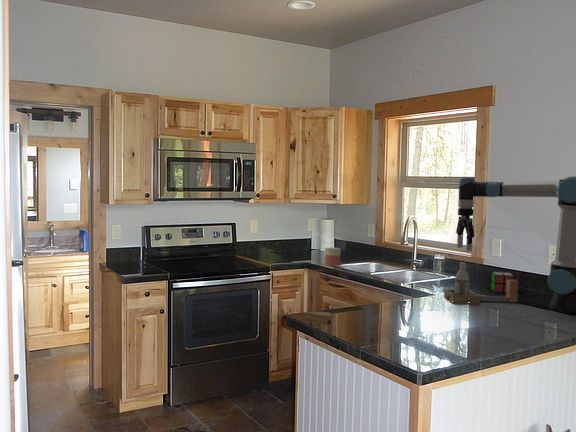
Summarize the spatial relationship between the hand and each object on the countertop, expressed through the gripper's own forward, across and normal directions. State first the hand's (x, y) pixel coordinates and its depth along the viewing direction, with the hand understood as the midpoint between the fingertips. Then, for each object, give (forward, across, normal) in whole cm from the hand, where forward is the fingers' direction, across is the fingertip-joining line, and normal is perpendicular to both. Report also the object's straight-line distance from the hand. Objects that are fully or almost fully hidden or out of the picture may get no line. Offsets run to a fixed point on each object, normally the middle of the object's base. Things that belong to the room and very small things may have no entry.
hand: (464, 249), depth 284 cm
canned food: (+27, +117, +55) cm, 132 cm away
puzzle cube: (+27, +28, -32) cm, 51 cm away
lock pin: (+27, 0, -16) cm, 31 cm away
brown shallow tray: (+27, 0, +1) cm, 27 cm away
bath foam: (+27, 0, +1) cm, 27 cm away
